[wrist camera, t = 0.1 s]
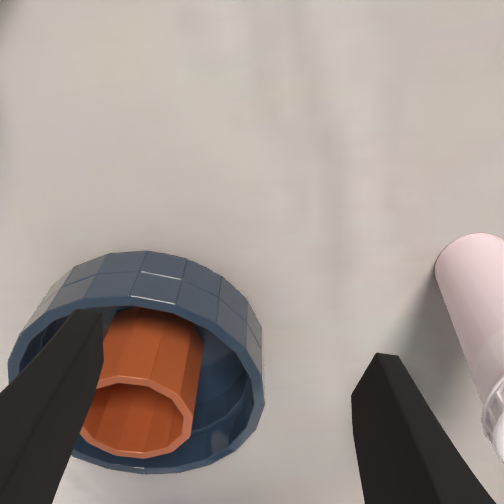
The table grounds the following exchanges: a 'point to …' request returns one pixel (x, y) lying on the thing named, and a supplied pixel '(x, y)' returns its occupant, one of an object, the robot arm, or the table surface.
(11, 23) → the table surface
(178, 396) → the orange hollow tube
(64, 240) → the table surface
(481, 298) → the smoothie
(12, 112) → the table surface
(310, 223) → the table surface
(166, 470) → the serving bowl
